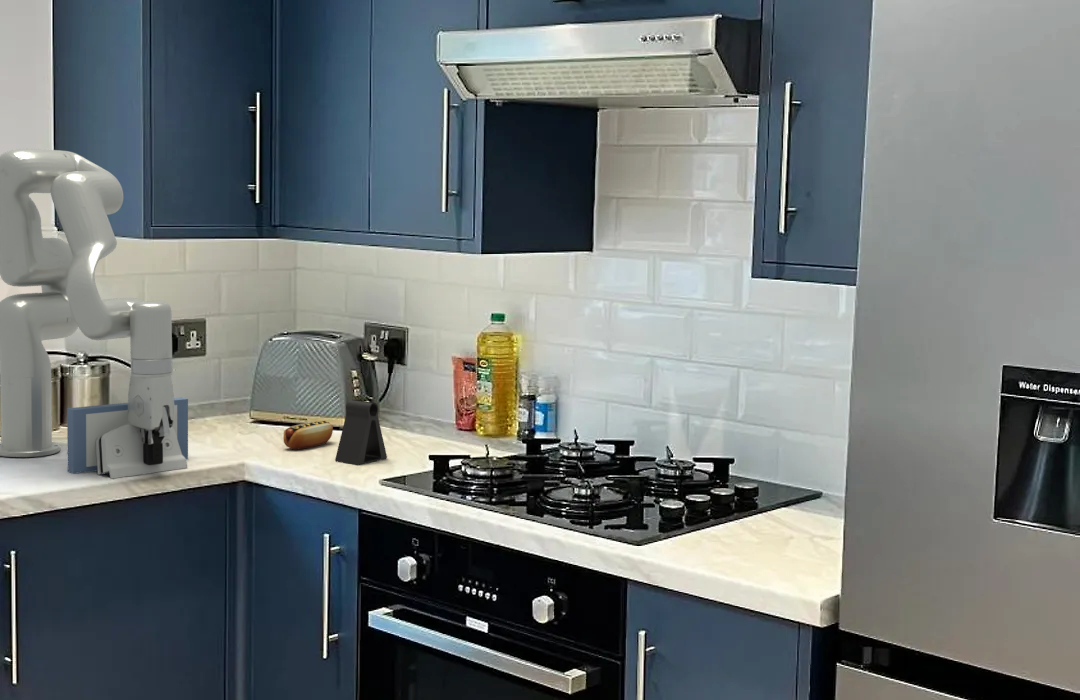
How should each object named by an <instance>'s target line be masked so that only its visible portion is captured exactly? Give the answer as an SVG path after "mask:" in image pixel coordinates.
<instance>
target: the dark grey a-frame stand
mask: <svg viewBox="0 0 1080 700" xmlns="http://www.w3.org/2000/svg"><path fill="white" fill-rule="evenodd" d="M380 424H381V423H380V420H379V406H378V404H377V403H376V402H373V401H366V400H359V399H353V398H352V399H348V400H347V402H346V405H345V418H344V422H343V426H342V431H341V434H340V438H339V443H338V446H337V447H338V448H337V450H336V451H337V452H336V454H335V455H336V456H335V458H334V461H335V462H337V461H338V462H337V463H342V462H343V463H344V464H349V465H355V466H363V465H366V464H370V463H375V462H379V461H383V460H384V461H385V460H387V459H388V455H387V450H386V446H385V441H384V439H383V433H382V430H381V425H380Z"/></svg>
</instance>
